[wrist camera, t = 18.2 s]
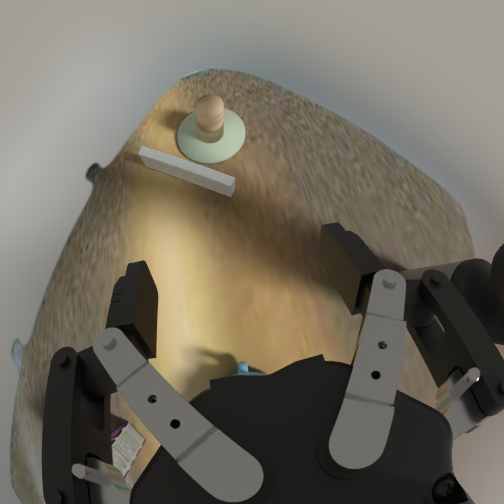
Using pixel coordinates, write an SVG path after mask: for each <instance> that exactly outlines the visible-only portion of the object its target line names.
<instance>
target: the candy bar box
mask: <svg viewBox="0 0 504 504" xmlns="http://www.w3.org/2000/svg"><path fill="white" fill-rule="evenodd" d="M145 440H146V439H145V438H144V437H143V436H142V435H141V434H140V433H139V432H138V431H137V430H136V429H135V428H134V427H133V426H132V425H131V424H130V423H129V422H128V421H127V422H126V423H124V424H123V425H122V426H120V427H119V428H117V429H116V430H115V431H113V432H112V433H111V441H112V455H113V466H115V467H117V468H118V469H119V470H120V471H121V472H122V474H123V476H124V478H125V477H126V475H127V473H128V471H129V469H130V467H131V465H132V463H133V462H134V460H135V458H136V456H137V454H138V453H139V451H140V449H141V447H142V445H143V444H144V442H145Z"/></svg>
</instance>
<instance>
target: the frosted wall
mask: <svg viewBox="0 0 504 504" xmlns="http://www.w3.org/2000/svg"><path fill="white" fill-rule="evenodd" d="M138 155H139V156H140V158H141V159H142V161H143V162H144V164H145V166H146V167H148V168H151V169H154V170H157V171H160V172H163V173H166V174H168V175H171V176H174V177H177V178H180V179H182V180H185V181H188V182H191V183H193V184H196V185H199V186H202V187H204V188H207V189H210V190H212V191H215V192H218V193H220V194H223V195H225V196H228V197H232V194H233V192H234V190H235V178H234V177H232V176H229V175H226V174H224V173H221V172H218V171H215V170H213V169H210V168H207V167H204V166H201V165H199V164H196V163H193V162H190V161H187V160H184V159H181V158H178V157H175V156H172V155H169V154H166V153H163V152H160V151H157V150H153V149H150V148H147V147H144V146H142V148H141V149H140V151H139V153H138Z"/></svg>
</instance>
